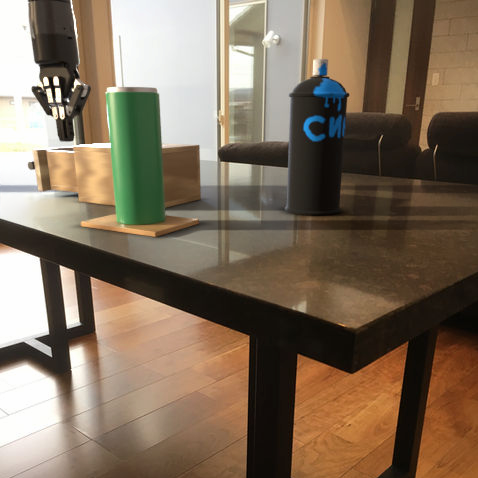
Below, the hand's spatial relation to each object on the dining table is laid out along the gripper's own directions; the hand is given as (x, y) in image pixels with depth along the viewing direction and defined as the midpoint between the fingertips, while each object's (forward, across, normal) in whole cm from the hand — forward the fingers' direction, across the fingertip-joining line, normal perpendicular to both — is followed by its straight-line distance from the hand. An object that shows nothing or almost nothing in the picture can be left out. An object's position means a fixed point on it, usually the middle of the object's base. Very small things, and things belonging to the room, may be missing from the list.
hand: (67, 141), depth 95 cm
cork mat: (+9, +34, -20) cm, 40 cm away
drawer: (+8, +8, -4) cm, 12 cm away
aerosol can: (+9, +48, +1) cm, 49 cm away
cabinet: (+9, +20, -4) cm, 23 cm away
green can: (+8, +34, -20) cm, 40 cm away
